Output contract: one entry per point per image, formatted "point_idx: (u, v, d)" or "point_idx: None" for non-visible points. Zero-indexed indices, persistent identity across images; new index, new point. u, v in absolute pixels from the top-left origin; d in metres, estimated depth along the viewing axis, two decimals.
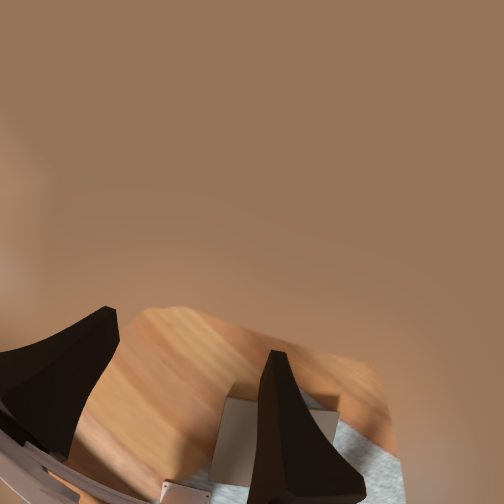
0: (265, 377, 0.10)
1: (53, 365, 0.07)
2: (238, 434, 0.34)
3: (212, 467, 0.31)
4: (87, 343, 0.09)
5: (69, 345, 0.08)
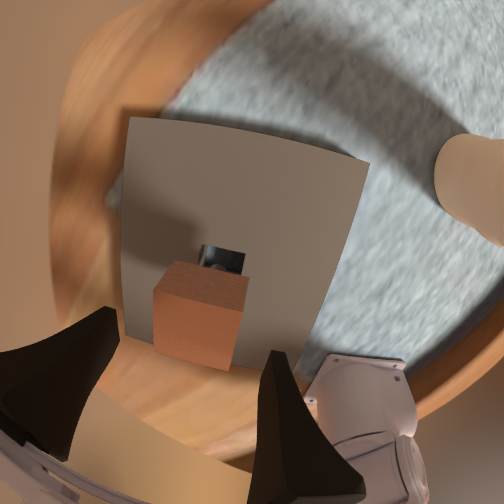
0: (265, 377, 0.10)
1: (53, 365, 0.07)
2: None
3: (260, 368, 0.22)
4: (87, 343, 0.09)
5: (69, 345, 0.08)
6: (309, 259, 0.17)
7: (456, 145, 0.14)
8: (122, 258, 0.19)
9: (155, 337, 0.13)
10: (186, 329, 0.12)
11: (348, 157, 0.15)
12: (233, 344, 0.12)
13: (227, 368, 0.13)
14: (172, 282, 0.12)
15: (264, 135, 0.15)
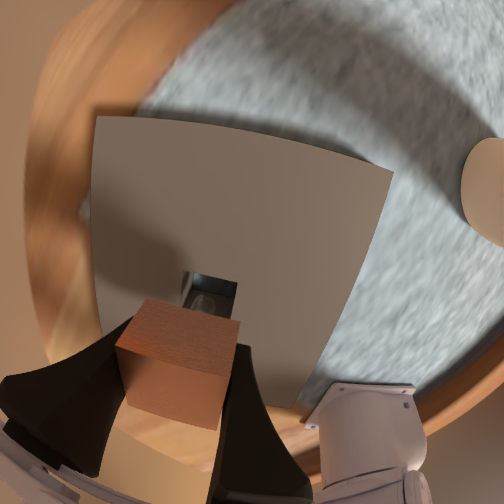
0: None
1: (89, 383, 0.07)
2: None
3: None
4: None
5: (103, 360, 0.08)
6: (315, 289, 0.14)
7: (488, 151, 0.10)
8: (96, 283, 0.15)
9: (126, 392, 0.09)
10: (160, 389, 0.09)
11: (367, 164, 0.11)
12: (219, 408, 0.09)
13: (214, 428, 0.10)
14: (140, 333, 0.09)
15: (260, 135, 0.11)
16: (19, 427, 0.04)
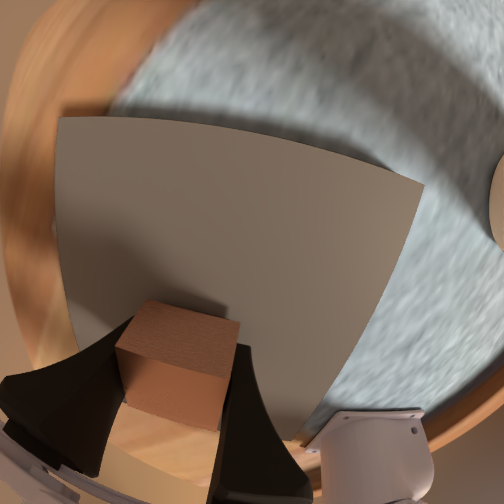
0: None
1: (89, 383, 0.07)
2: None
3: None
4: None
5: (103, 360, 0.08)
6: (323, 327, 0.11)
7: None
8: (70, 310, 0.13)
9: (126, 393, 0.09)
10: (160, 390, 0.09)
11: (394, 174, 0.08)
12: (219, 409, 0.09)
13: (214, 429, 0.10)
14: (140, 334, 0.09)
15: (255, 135, 0.08)
16: (19, 427, 0.04)
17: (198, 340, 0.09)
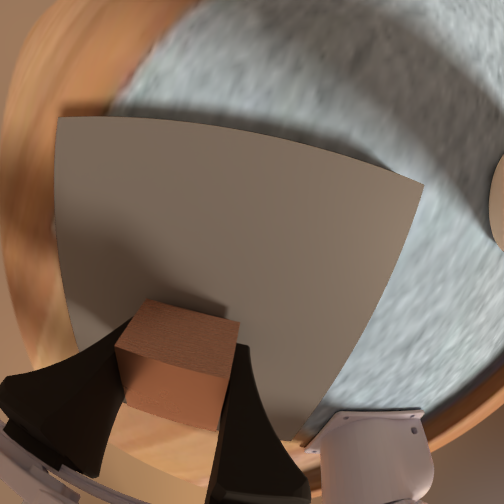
0: None
1: (89, 383, 0.07)
2: None
3: None
4: None
5: (104, 360, 0.08)
6: (322, 327, 0.11)
7: None
8: (70, 310, 0.13)
9: (126, 393, 0.09)
10: (160, 390, 0.09)
11: (393, 174, 0.08)
12: (219, 409, 0.09)
13: (214, 429, 0.10)
14: (139, 334, 0.09)
15: (255, 135, 0.08)
16: (19, 427, 0.04)
17: (197, 340, 0.09)
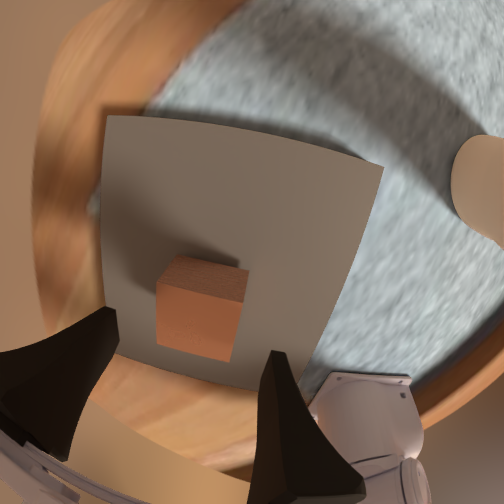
0: (265, 377, 0.10)
1: (53, 365, 0.07)
2: (174, 349, 0.19)
3: (257, 390, 0.20)
4: (87, 343, 0.09)
5: (69, 345, 0.08)
6: (312, 277, 0.15)
7: (476, 147, 0.11)
8: (104, 273, 0.16)
9: (158, 329, 0.13)
10: (188, 320, 0.13)
11: (359, 160, 0.12)
12: (233, 335, 0.13)
13: (228, 359, 0.13)
14: (175, 275, 0.13)
15: (260, 133, 0.12)
16: None
17: (218, 279, 0.13)
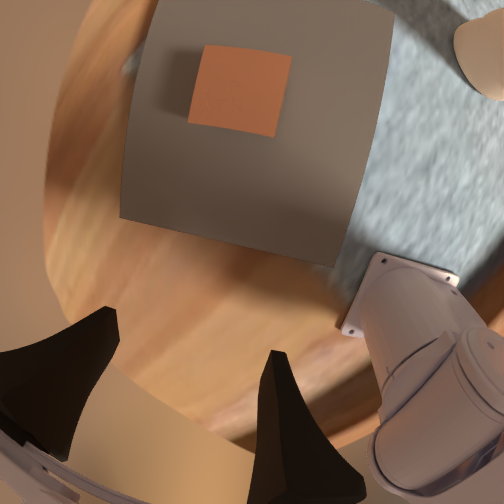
0: (265, 377, 0.10)
1: (53, 365, 0.07)
2: (196, 191, 0.16)
3: (294, 255, 0.17)
4: (87, 343, 0.09)
5: (69, 345, 0.08)
6: (350, 89, 0.13)
7: (467, 22, 0.09)
8: (133, 104, 0.14)
9: (194, 100, 0.11)
10: (231, 80, 0.10)
11: (374, 5, 0.10)
12: (281, 94, 0.10)
13: (272, 132, 0.11)
14: None
15: None
16: None
17: None
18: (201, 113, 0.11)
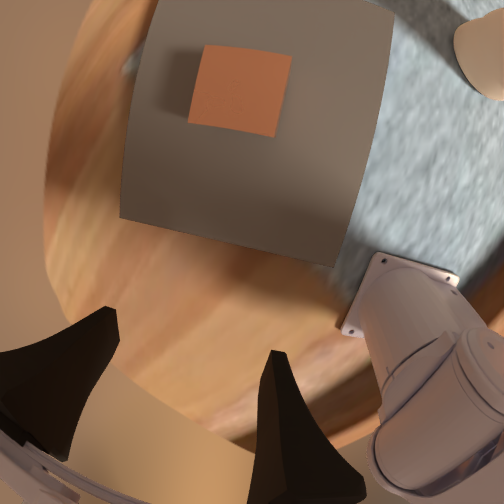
0: (265, 377, 0.10)
1: (53, 365, 0.07)
2: (196, 191, 0.16)
3: (294, 255, 0.17)
4: (87, 343, 0.09)
5: (69, 345, 0.08)
6: (350, 89, 0.13)
7: (467, 22, 0.09)
8: (133, 104, 0.14)
9: (194, 100, 0.11)
10: (231, 80, 0.10)
11: (374, 5, 0.10)
12: (281, 94, 0.10)
13: (272, 132, 0.11)
14: None
15: None
16: None
17: None
18: (201, 113, 0.11)
